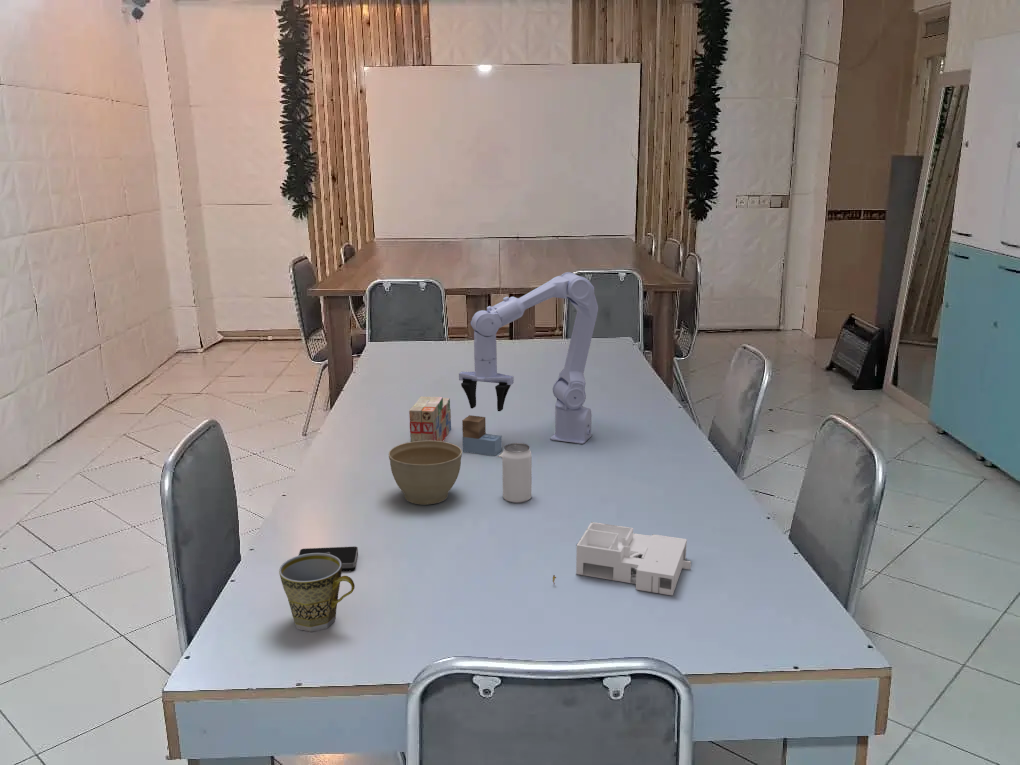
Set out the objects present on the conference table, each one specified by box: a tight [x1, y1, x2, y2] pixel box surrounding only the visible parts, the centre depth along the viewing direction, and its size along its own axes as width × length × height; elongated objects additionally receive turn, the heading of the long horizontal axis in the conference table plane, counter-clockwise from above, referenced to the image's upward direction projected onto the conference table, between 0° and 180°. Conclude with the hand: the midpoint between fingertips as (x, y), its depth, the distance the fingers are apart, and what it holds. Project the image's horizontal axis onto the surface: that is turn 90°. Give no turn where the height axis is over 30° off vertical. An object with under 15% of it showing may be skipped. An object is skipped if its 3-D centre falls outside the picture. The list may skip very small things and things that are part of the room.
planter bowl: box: [388, 441, 463, 506], centre depth 189 cm, size 16×16×11 cm
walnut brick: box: [461, 414, 487, 439], centre depth 219 cm, size 4×4×4 cm
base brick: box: [462, 433, 503, 457], centre depth 219 cm, size 9×4×4 cm, turn 68°
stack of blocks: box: [408, 396, 452, 442], centre depth 225 cm, size 21×6×12 cm, turn 172°
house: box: [552, 521, 692, 596], centre depth 156 cm, size 22×18×6 cm
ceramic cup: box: [278, 553, 356, 633], centre depth 139 cm, size 13×10×10 cm
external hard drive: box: [297, 545, 359, 572], centre depth 160 cm, size 7×11×2 cm, turn 95°
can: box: [501, 442, 533, 504], centre depth 188 cm, size 6×6×12 cm
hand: (486, 408), depth 220 cm, fingers open, 7 cm apart
